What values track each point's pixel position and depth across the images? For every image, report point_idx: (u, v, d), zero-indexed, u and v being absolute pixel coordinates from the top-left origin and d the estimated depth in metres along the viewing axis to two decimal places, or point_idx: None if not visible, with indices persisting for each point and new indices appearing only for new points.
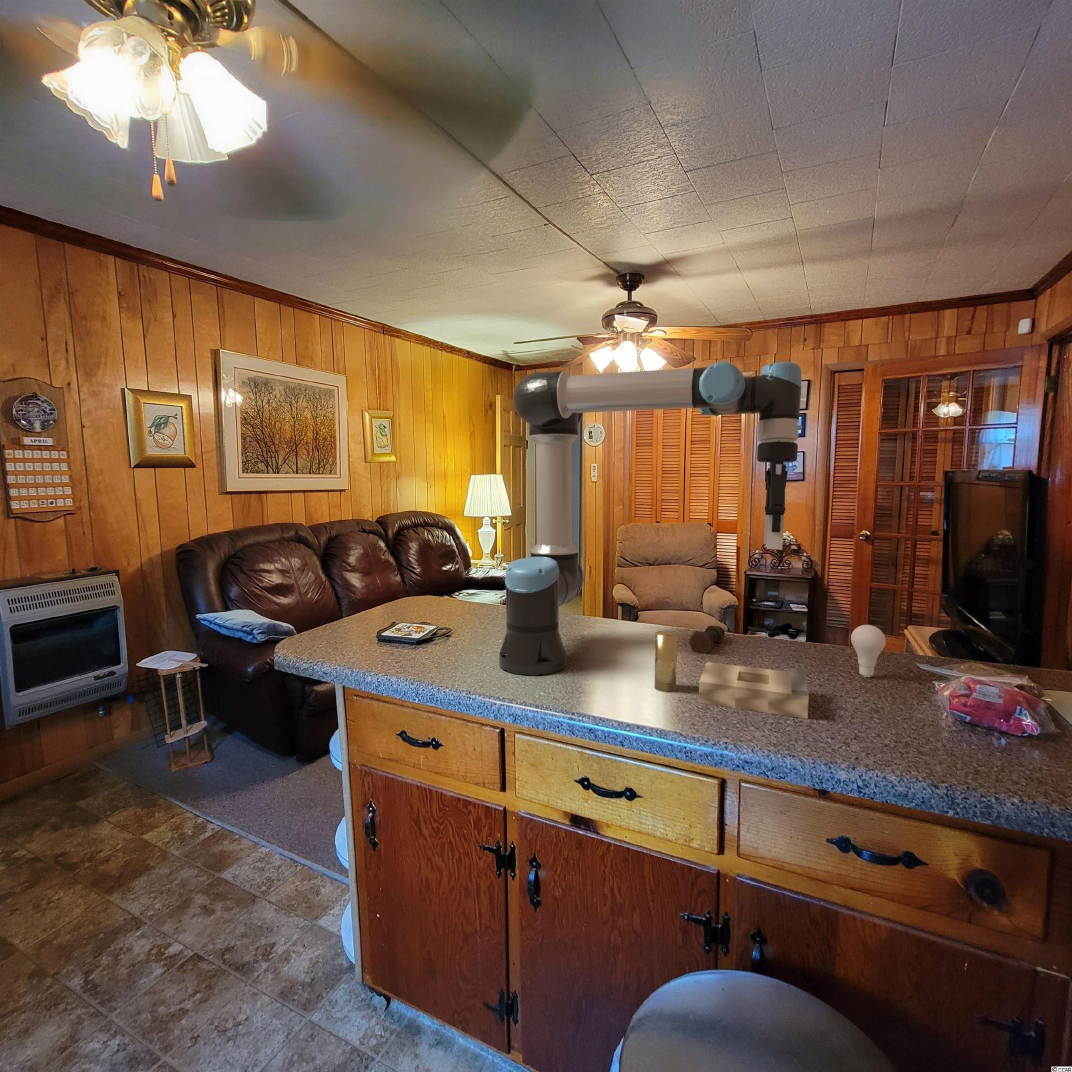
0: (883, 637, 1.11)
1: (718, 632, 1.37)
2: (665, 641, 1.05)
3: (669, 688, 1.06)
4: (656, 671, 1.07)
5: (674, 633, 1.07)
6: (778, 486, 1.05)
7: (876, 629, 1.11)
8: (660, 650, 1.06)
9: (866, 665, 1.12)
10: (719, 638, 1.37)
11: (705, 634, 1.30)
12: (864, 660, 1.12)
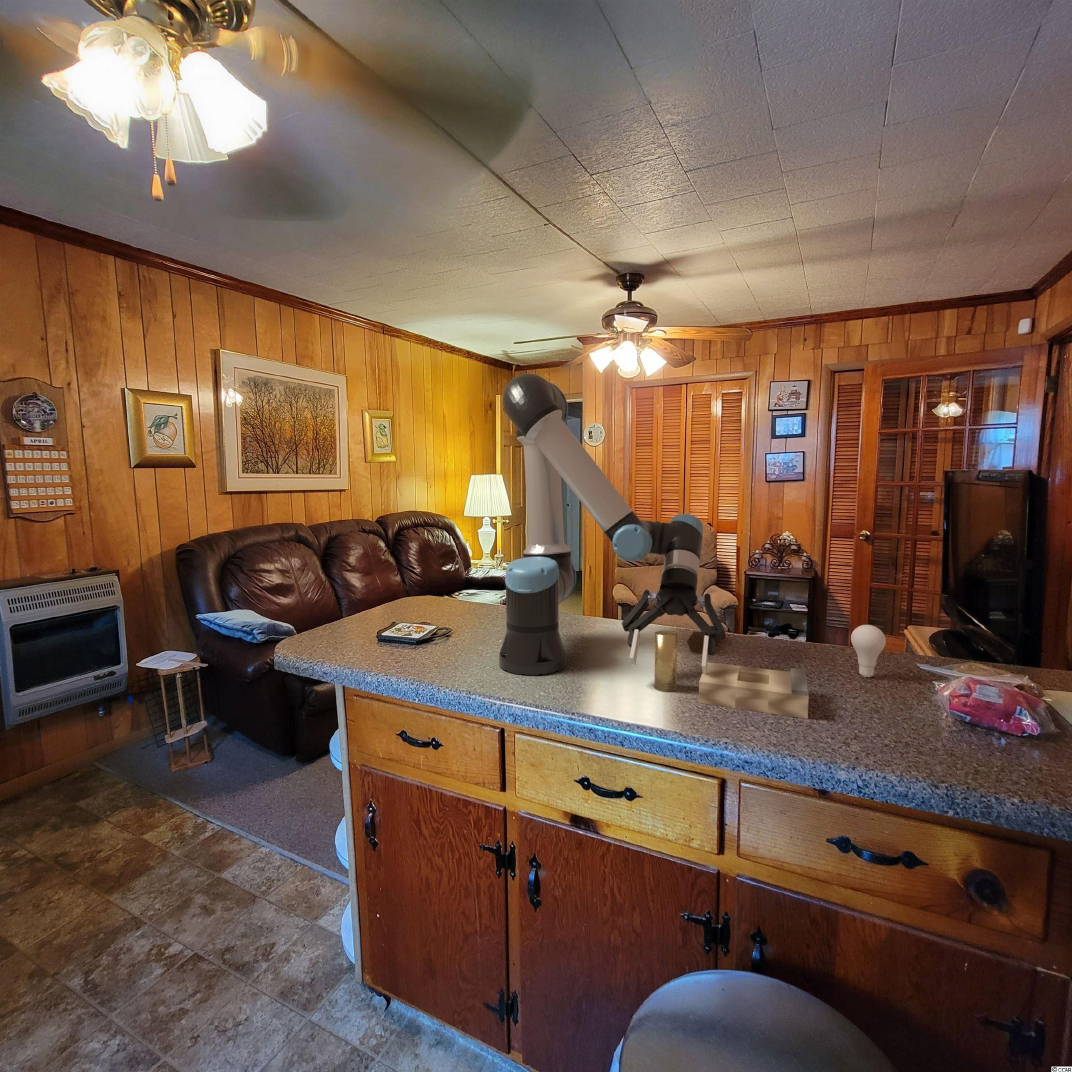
0: (883, 637, 1.11)
1: None
2: (665, 641, 1.05)
3: (669, 688, 1.06)
4: (656, 671, 1.07)
5: (674, 633, 1.07)
6: None
7: (876, 629, 1.11)
8: (660, 650, 1.06)
9: (866, 665, 1.12)
10: None
11: (704, 634, 1.29)
12: (864, 660, 1.12)
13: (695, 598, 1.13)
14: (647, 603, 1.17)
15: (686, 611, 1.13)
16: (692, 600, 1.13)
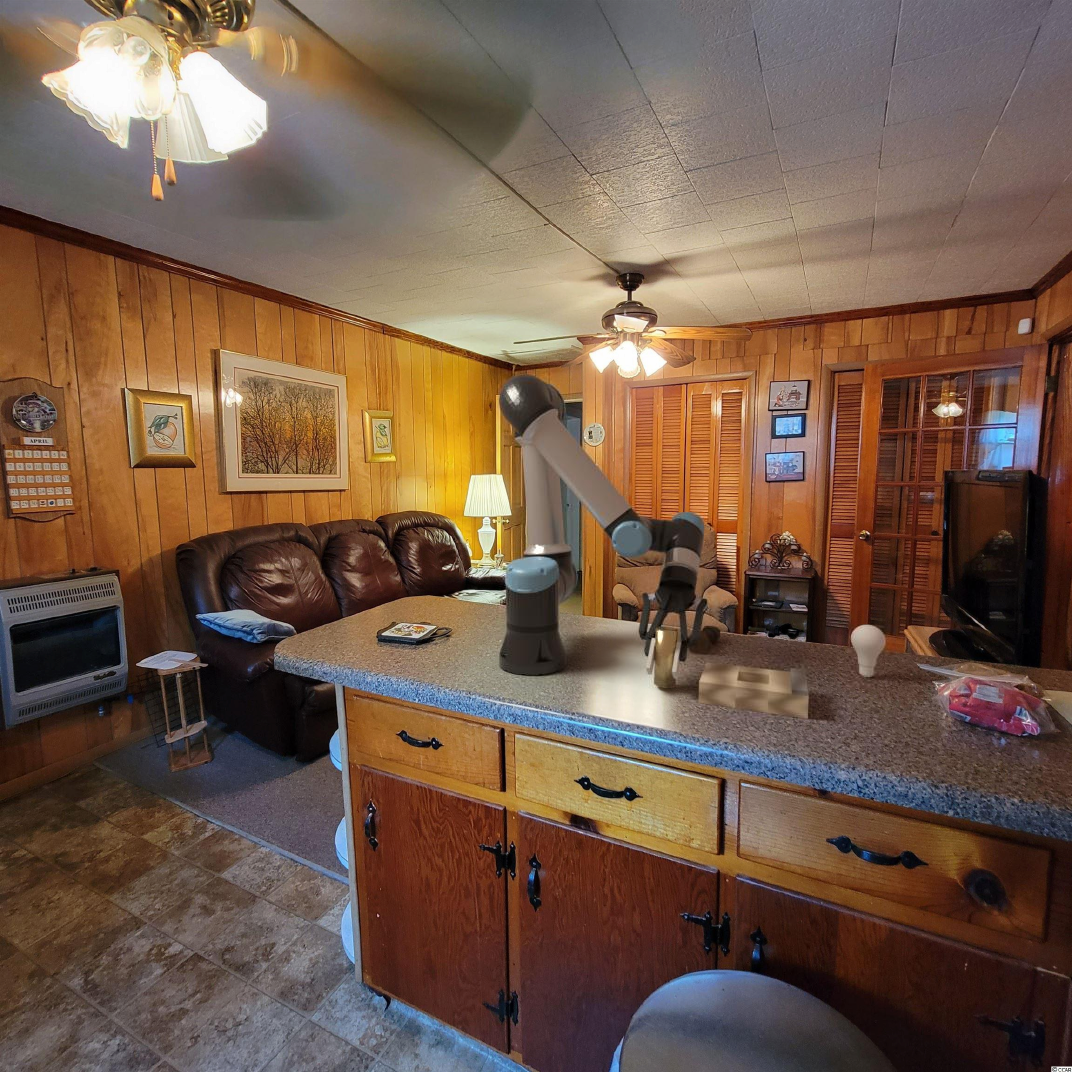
0: (883, 637, 1.11)
1: (714, 632, 1.37)
2: (665, 637, 1.05)
3: (668, 684, 1.06)
4: (656, 666, 1.07)
5: (674, 629, 1.07)
6: (701, 621, 1.09)
7: (876, 629, 1.11)
8: (660, 646, 1.06)
9: (866, 665, 1.12)
10: (715, 638, 1.37)
11: (703, 634, 1.29)
12: (864, 660, 1.12)
13: (692, 598, 1.12)
14: None
15: None
16: (688, 598, 1.12)
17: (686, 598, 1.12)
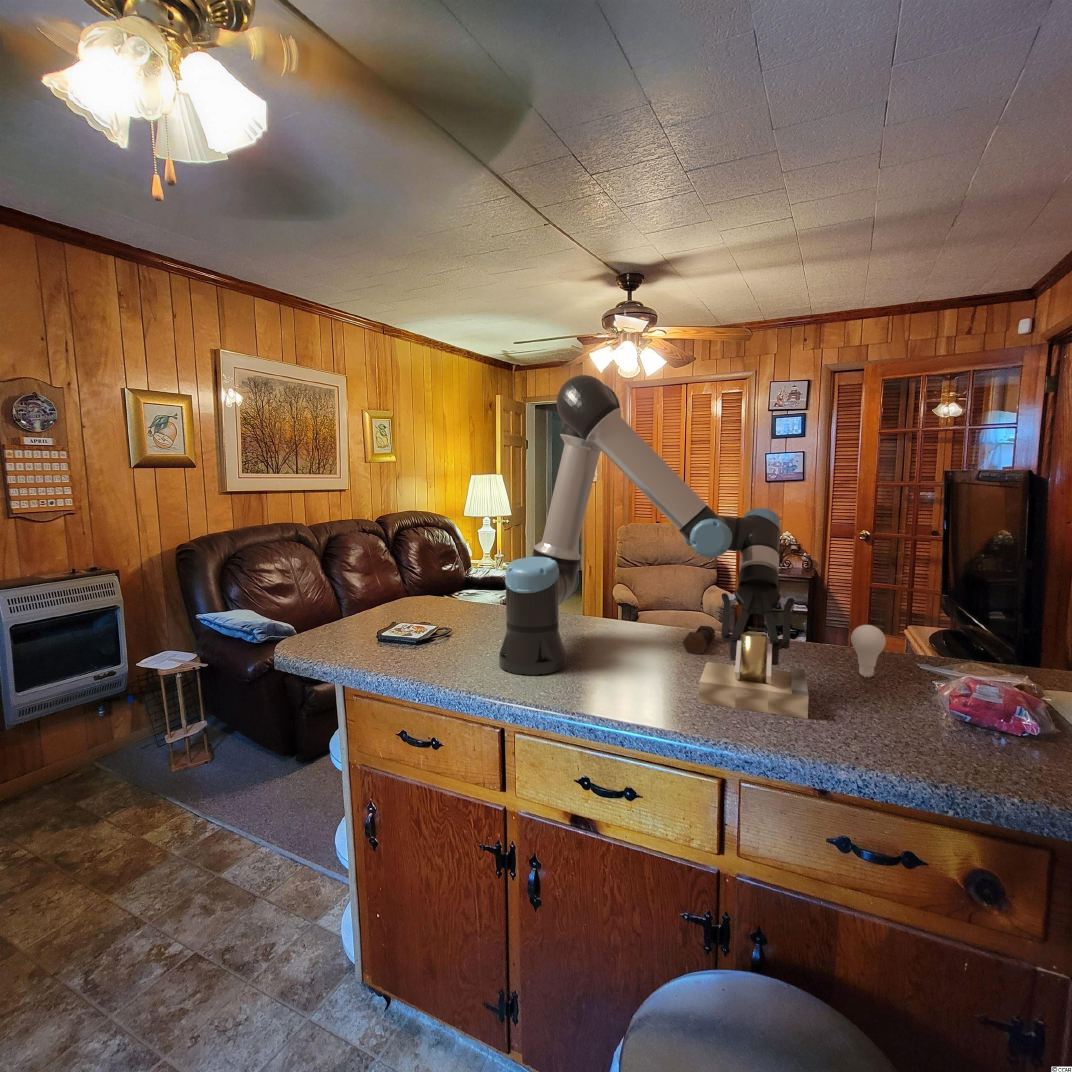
0: (883, 637, 1.11)
1: (710, 632, 1.37)
2: (755, 643, 1.00)
3: None
4: (745, 674, 1.02)
5: (763, 634, 1.01)
6: None
7: (876, 629, 1.11)
8: (749, 653, 1.00)
9: (866, 665, 1.12)
10: (711, 638, 1.37)
11: (699, 635, 1.29)
12: (864, 660, 1.12)
13: (777, 598, 1.07)
14: (730, 606, 1.10)
15: None
16: (773, 598, 1.07)
17: (770, 598, 1.07)
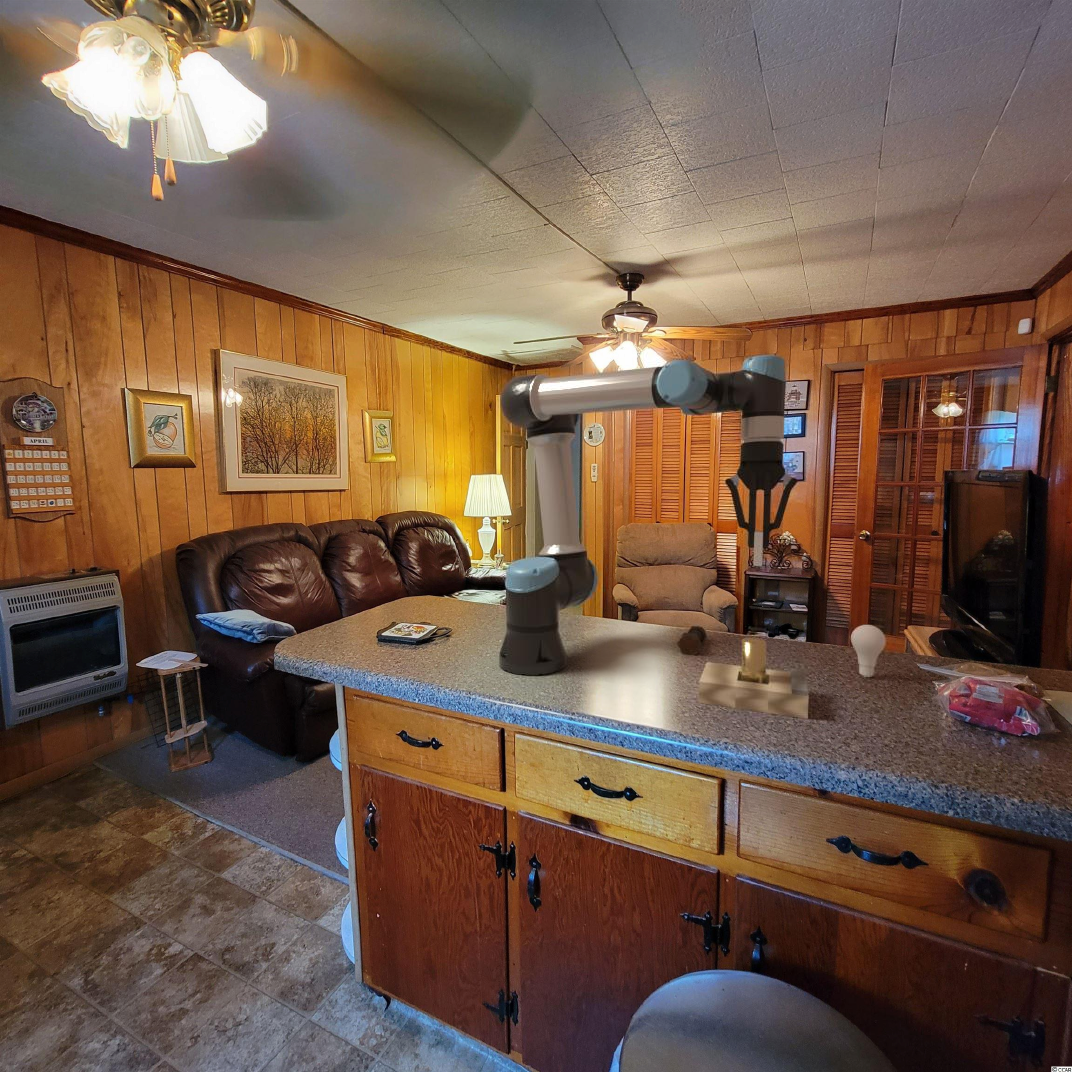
0: (883, 637, 1.11)
1: (702, 632, 1.37)
2: (755, 649, 1.00)
3: None
4: (745, 680, 1.02)
5: (762, 640, 1.02)
6: None
7: (876, 629, 1.11)
8: (749, 659, 1.01)
9: (866, 665, 1.12)
10: (703, 638, 1.37)
11: (694, 635, 1.29)
12: (864, 660, 1.12)
13: (781, 475, 1.02)
14: None
15: None
16: (776, 476, 1.02)
17: (773, 476, 1.02)
